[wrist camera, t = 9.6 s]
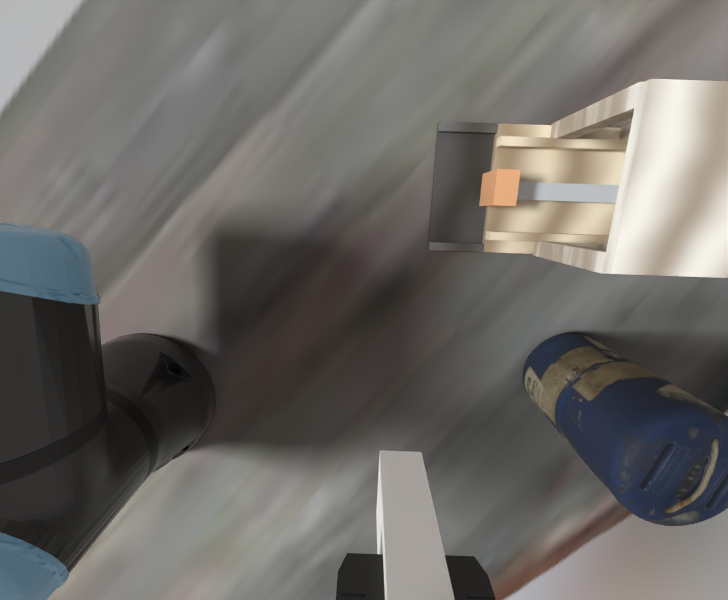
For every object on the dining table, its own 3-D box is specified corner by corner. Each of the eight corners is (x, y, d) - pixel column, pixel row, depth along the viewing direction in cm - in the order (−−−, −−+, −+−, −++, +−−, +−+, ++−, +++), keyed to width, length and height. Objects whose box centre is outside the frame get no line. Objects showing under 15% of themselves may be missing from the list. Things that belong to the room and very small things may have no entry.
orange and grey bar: (476, 226, 35) (490, 228, 32) (485, 151, 34) (500, 143, 30) (685, 233, 35) (724, 236, 32) (703, 159, 34) (747, 152, 30)
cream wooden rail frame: (427, 250, 37) (459, 270, 24) (437, 122, 34) (479, 70, 22) (676, 259, 37) (835, 283, 24) (707, 131, 34) (907, 85, 22)
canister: (620, 357, 40) (817, 471, 22) (564, 420, 42) (706, 570, 24) (554, 313, 39) (708, 396, 21) (500, 380, 41) (600, 506, 23)
